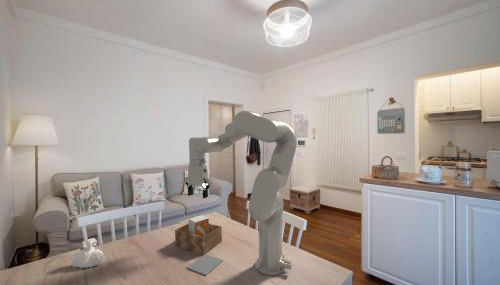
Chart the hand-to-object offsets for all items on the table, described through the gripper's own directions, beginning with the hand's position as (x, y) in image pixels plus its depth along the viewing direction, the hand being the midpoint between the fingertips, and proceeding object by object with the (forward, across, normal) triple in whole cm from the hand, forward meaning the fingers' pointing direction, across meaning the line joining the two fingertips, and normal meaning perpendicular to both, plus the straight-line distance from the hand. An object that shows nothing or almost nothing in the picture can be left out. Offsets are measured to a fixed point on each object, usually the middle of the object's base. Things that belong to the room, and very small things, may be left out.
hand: (197, 196), depth 107 cm
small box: (+24, 0, 0) cm, 24 cm away
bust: (+24, +30, +35) cm, 52 cm away
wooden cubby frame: (+24, 0, 0) cm, 24 cm away
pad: (+24, -15, +12) cm, 31 cm away
